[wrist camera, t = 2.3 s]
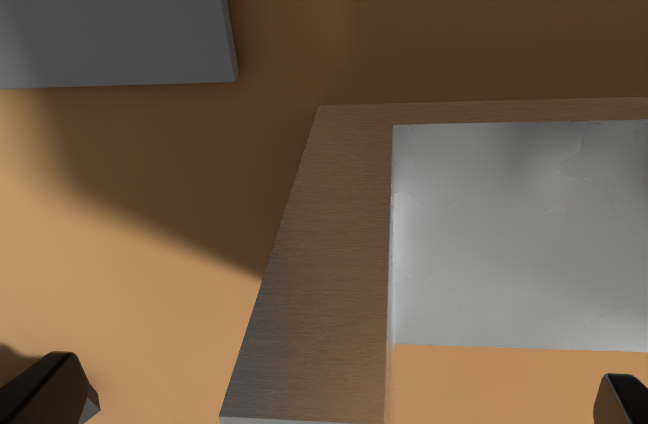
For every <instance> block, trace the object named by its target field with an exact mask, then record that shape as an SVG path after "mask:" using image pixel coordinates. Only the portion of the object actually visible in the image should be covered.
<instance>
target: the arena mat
mask: <svg viewBox="0 0 648 424" xmlns="http://www.w3.org/2000/svg"><path fill="white" fill-rule="evenodd" d="M238 76H239V71H238V65H237V58H236V52H235V46H234V39H233V33H232V27H231V20H230V14H229V8H228V1H227V0H0V89H19V88H51V87H84V86H117V85H150V84H182V83H215V82H235V81H236V79H237V78H238Z"/></svg>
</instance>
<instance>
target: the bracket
mask: <svg viewBox="0 0 648 424" xmlns="http://www.w3.org/2000/svg"><path fill="white" fill-rule="evenodd" d="M395 344H413V345H444V346H475V347H506V348H536V349H567V350H598V351H629V352H648V96H644V97H607V98H569V99H532V100H495V101H457V102H420V103H383V104H345V105H319V106H318V109H317V112H316V115H315V118H314V121H313V125H312V128H311V131H310V134H309V137H308V140H307V143H306V146H305V149H304V153H303V156H302V159H301V162H300V165H299V168H298V171H297V174H296V177H295V181H294V184H293V187H292V190H291V193H290V196H289V199H288V202H287V205H286V209H285V212H284V215H283V218H282V221H281V224H280V227H279V230H278V233H277V237H276V240H275V243H274V246H273V249H272V252H271V255H270V258H269V261H268V265H267V268H266V271H265V274H264V277H263V280H262V283H261V286H260V289H259V292H258V296H257V299H256V302H255V305H254V308H253V311H252V314H251V317H250V320H249V324H248V327H247V330H246V333H245V336H244V339H243V342H242V345H241V348H240V352H239V355H238V358H237V361H236V364H235V367H234V370H233V373H232V376H231V380H230V383H229V386H228V389H227V392H226V395H225V398H224V401H223V404H222V408H221V411H220V414H219V420H220V423H221V424H394V355H395Z"/></svg>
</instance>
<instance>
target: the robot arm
mask: <svg viewBox="0 0 648 424" xmlns="http://www.w3.org/2000/svg"><path fill="white" fill-rule="evenodd" d="M88 394H89V382H88V379H87V377H86V375H85V372H84V370H83V368H82V366H81V363H80V361H79V359H78V357H77V355H76V354H74V353H73V352H63V351H53V352H50V353H48V354H46V355H45V356H43V357H42V358H41V359H39V360H38V361H36V362H35V363H34V364H32V365H31V366H29V367H28V368H27V369H25V370H24V371H22V372H21V373H19V374H18V375H17V376H15V377H14V378H12V379H11V380H10V381H8V382H7V383H5V384H4V385H2V386H1V387H0V424H79V421H80V418H81V415H82V412H83V409H84V406H85V403H86V400H87V398H88ZM593 417H594V424H648V388H647V387H646V386H645V385H643V384H642V383H641V382H640V381H639V380H638V379H637V378H636V377H634V376H633V375H630V374H614V373H608V374H605V375H604V376H603V378H602V380H601V383H600V387H599V390H598V393H597V397H596V400H595V404H594V409H593Z"/></svg>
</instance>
